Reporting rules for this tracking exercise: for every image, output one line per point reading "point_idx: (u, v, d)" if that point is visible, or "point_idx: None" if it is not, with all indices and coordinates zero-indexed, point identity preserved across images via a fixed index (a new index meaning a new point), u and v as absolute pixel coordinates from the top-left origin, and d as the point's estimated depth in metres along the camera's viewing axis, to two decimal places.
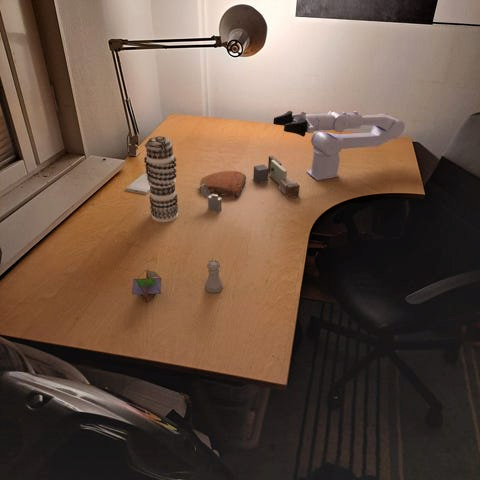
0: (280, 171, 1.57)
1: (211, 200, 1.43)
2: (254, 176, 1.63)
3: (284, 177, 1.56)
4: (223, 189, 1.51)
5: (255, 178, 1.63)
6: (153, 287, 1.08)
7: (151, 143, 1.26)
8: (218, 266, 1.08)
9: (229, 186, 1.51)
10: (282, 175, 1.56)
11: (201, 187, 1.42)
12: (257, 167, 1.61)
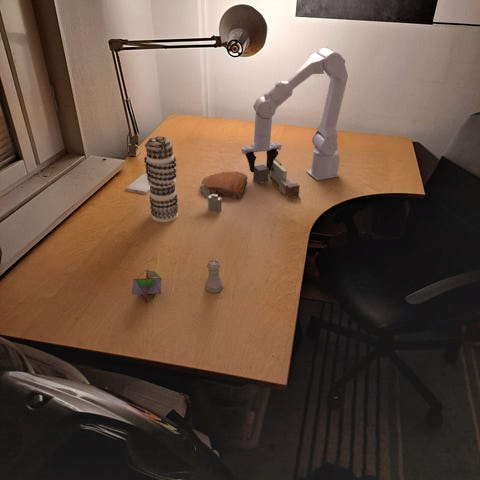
0: (280, 171, 1.57)
1: (211, 200, 1.43)
2: (254, 176, 1.63)
3: (284, 177, 1.56)
4: (224, 190, 1.51)
5: (255, 178, 1.63)
6: (153, 287, 1.08)
7: (151, 143, 1.26)
8: (218, 266, 1.08)
9: (230, 187, 1.51)
10: (282, 175, 1.56)
11: (201, 187, 1.42)
12: (257, 167, 1.61)
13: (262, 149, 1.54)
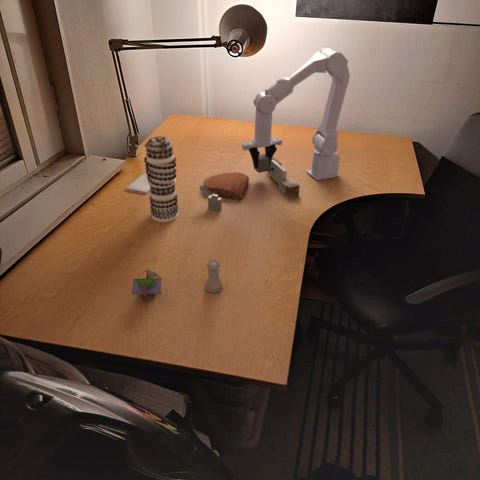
0: (280, 171, 1.57)
1: (211, 200, 1.43)
2: None
3: (284, 177, 1.56)
4: (226, 191, 1.50)
5: (256, 168, 1.60)
6: (153, 287, 1.08)
7: (151, 143, 1.26)
8: (218, 266, 1.08)
9: (232, 188, 1.50)
10: (282, 175, 1.56)
11: (201, 187, 1.42)
12: None
13: (263, 145, 1.53)
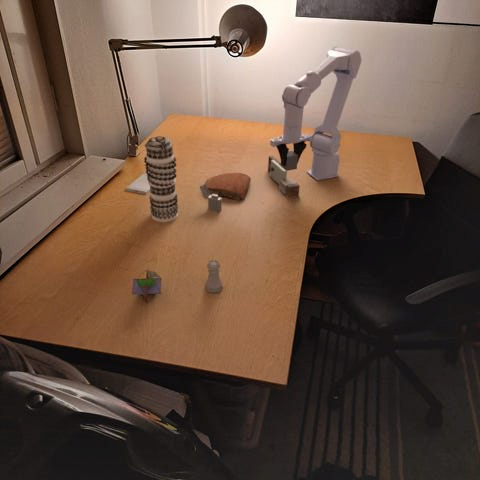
0: (280, 171, 1.57)
1: (211, 200, 1.43)
2: None
3: (284, 177, 1.56)
4: (227, 191, 1.50)
5: None
6: (153, 287, 1.08)
7: (151, 143, 1.26)
8: (218, 266, 1.08)
9: (233, 188, 1.50)
10: (282, 175, 1.56)
11: (201, 187, 1.42)
12: None
13: (292, 141, 1.44)
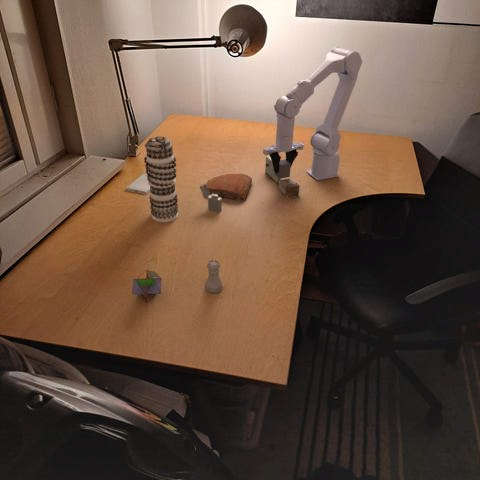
0: None
1: (211, 200, 1.43)
2: None
3: None
4: (229, 192, 1.50)
5: (276, 173, 1.57)
6: (153, 287, 1.08)
7: (151, 143, 1.26)
8: (218, 266, 1.08)
9: (235, 189, 1.50)
10: None
11: (201, 187, 1.42)
12: None
13: (284, 149, 1.50)
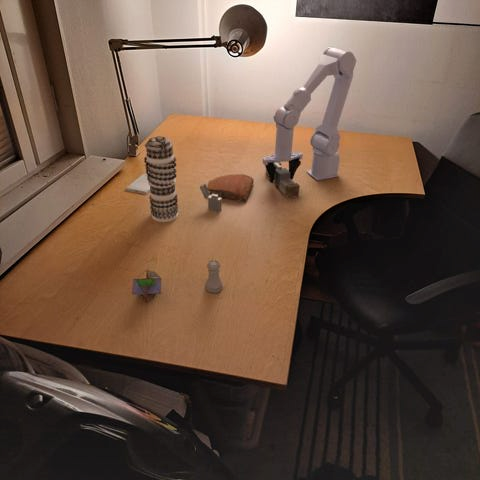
0: None
1: (211, 200, 1.43)
2: (275, 180, 1.59)
3: None
4: (230, 193, 1.49)
5: (276, 182, 1.59)
6: (153, 287, 1.08)
7: (151, 143, 1.26)
8: (218, 266, 1.08)
9: (236, 190, 1.49)
10: None
11: (201, 187, 1.42)
12: (278, 171, 1.57)
13: (284, 159, 1.52)
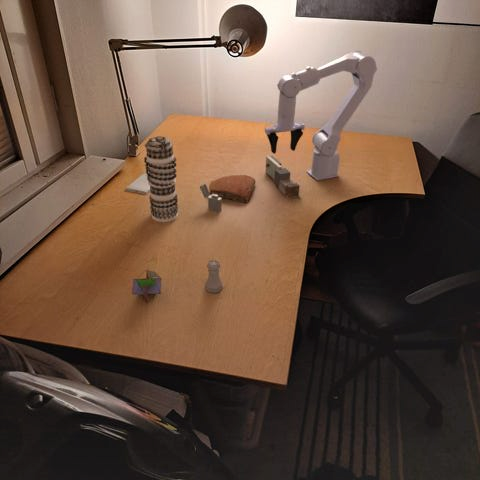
0: (275, 167, 1.60)
1: (211, 200, 1.43)
2: (275, 180, 1.59)
3: None
4: (232, 193, 1.49)
5: (276, 182, 1.59)
6: (153, 287, 1.08)
7: (151, 143, 1.26)
8: (218, 266, 1.08)
9: (238, 190, 1.49)
10: None
11: (201, 187, 1.42)
12: (278, 171, 1.57)
13: (286, 129, 1.52)
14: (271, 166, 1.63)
